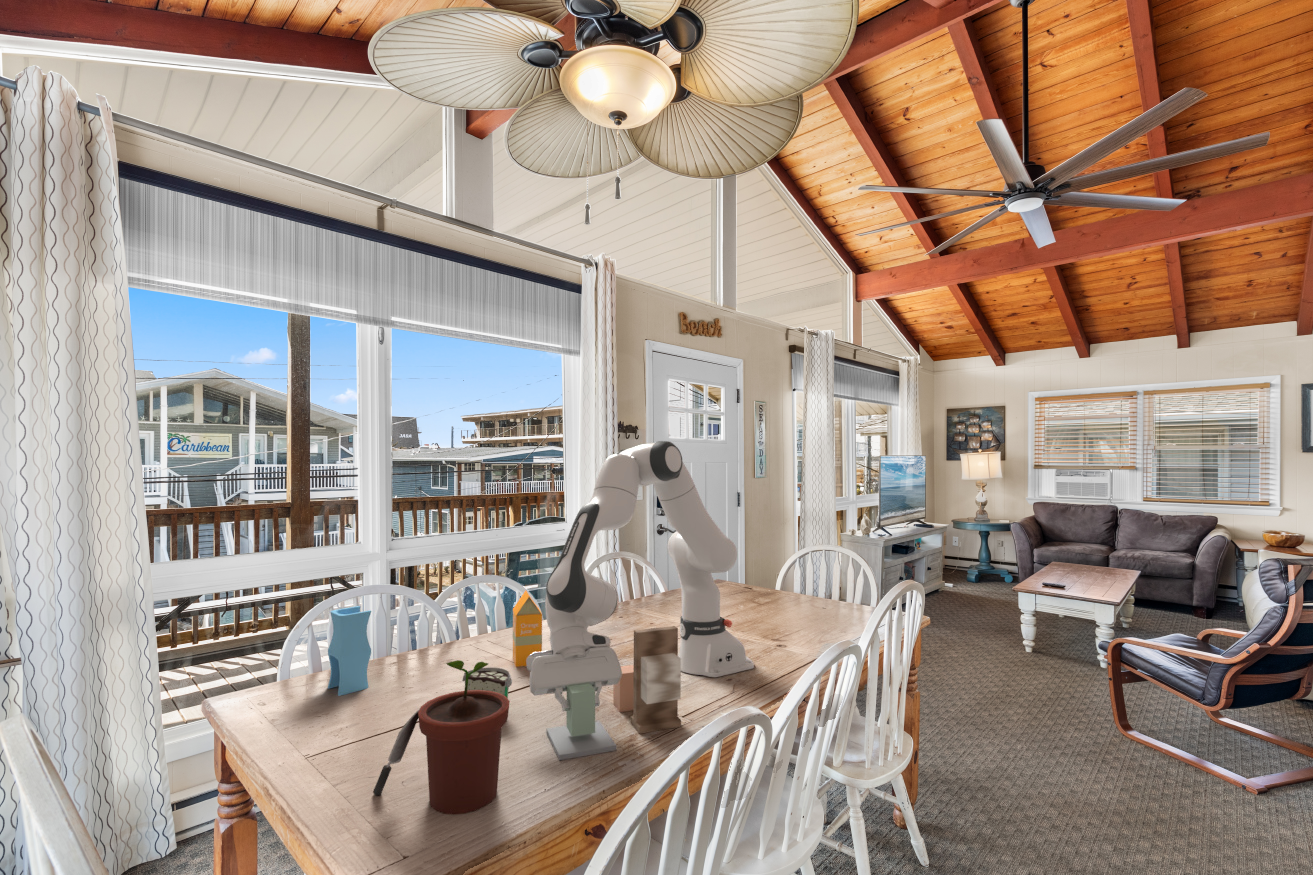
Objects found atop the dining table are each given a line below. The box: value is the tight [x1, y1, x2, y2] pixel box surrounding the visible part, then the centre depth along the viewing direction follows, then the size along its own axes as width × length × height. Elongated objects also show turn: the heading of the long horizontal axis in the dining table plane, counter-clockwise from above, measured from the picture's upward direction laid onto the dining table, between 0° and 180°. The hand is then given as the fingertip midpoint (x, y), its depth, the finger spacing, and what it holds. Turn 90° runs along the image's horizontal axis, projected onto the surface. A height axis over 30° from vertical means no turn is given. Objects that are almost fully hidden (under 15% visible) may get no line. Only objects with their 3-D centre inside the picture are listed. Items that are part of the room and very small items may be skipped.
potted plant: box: [372, 660, 510, 815], centre depth 114 cm, size 18×22×25 cm
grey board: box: [546, 719, 617, 761], centre depth 133 cm, size 12×13×1 cm
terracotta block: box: [612, 664, 634, 713], centre depth 152 cm, size 5×5×9 cm
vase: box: [327, 605, 372, 697], centre depth 163 cm, size 8×8×20 cm
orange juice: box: [512, 590, 543, 668], centre depth 185 cm, size 8×9×20 cm
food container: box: [462, 666, 513, 699], centre depth 147 cm, size 12×6×10 cm, turn 71°
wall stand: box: [629, 625, 682, 735], centre depth 141 cm, size 10×8×22 cm
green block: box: [565, 683, 596, 737], centre depth 134 cm, size 5×5×9 cm
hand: (581, 707), depth 133 cm, fingers closed on green block, 5 cm apart
